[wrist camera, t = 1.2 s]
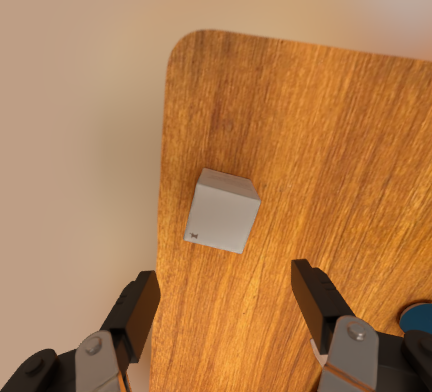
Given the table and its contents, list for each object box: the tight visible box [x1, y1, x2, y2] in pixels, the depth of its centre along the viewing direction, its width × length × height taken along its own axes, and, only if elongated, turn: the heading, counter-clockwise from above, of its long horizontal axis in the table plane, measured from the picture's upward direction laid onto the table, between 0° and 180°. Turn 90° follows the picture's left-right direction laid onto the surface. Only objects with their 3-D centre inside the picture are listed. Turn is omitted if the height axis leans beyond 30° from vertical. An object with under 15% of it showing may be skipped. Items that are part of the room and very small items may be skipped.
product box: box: [183, 168, 261, 254], centre depth 22 cm, size 6×6×7 cm
